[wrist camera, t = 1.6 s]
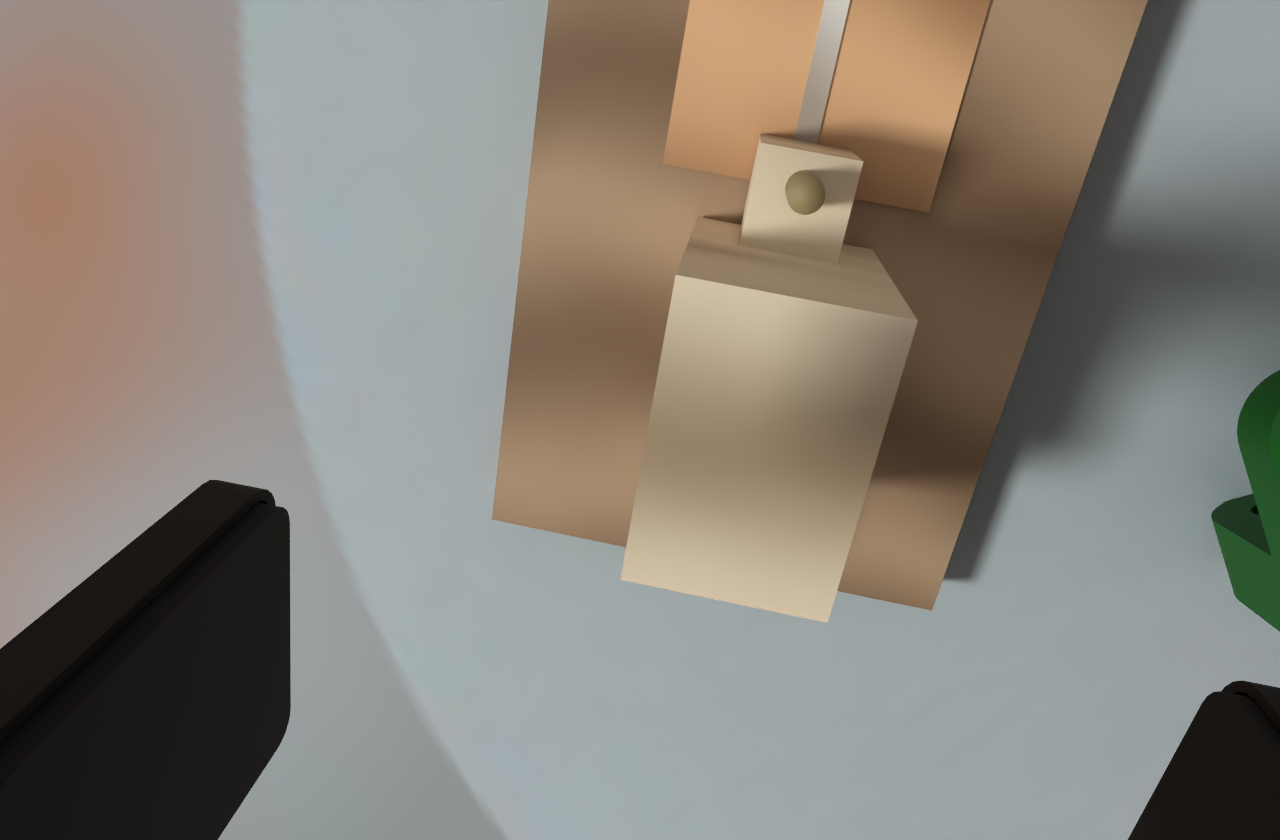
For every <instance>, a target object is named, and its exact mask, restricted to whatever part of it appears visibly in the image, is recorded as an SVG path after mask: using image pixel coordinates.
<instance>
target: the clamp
mask: <svg viewBox="0 0 1280 840" xmlns="http://www.w3.org/2000/svg"><path fill="white" fill-rule="evenodd" d="M1237 435H1238V442H1239V447H1240V450H1241V454H1242V457H1243V460H1244V464H1245V467H1246V471H1247V474H1248V477H1249V481H1250V484H1251V488H1252V491H1253V494H1251V495H1247V496H1244V497H1240V498H1236V499H1232V500H1230V501H1227V502H1225V503H1223V504H1222V505H1220V506H1218V507H1217V508H1216V509H1215V510H1214V511H1213V512H1212V515H1211V517H1212V521H1213V524H1214V527H1215V531H1216V534H1217V537H1218V541H1219V544H1220V547H1221V551H1222V554H1223V557H1224V561H1225V564H1226V568H1227V571H1228V574H1229V578H1230V581H1231V584H1232V588H1233V591H1234V594H1235V597H1236V598H1237V599H1238V600H1239V601H1240V602H1242V603H1243V604H1244V605H1246V606H1247V607H1248V608H1250V609H1251V610H1252V611H1253V612H1255V613H1256V614H1257V615H1259V616H1260V617H1261V618H1263V619H1264V620H1265V621H1267V622H1268V623H1269V624H1270V625H1272V626H1273V627H1274V628H1276V629H1277V630H1278V631H1280V370H1279V371H1277V372H1276V373H1274V374H1272V375H1271V376H1269V377H1268V378H1266V379H1265V380H1264V381H1262V382H1261V383H1260V384H1259V385H1258V386H1257V387H1256V388H1255V389H1254V390H1253V391H1252V393H1251V394H1250V395H1249V397H1248V398H1247V400H1246V402H1245V403H1244V405H1243V407H1242V410H1241V413H1240V416H1239V420H1238V427H1237Z"/></svg>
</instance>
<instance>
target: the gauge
mask: <svg viewBox="0 0 1280 840" xmlns="http://www.w3.org/2000/svg"><path fill="white" fill-rule="evenodd" d="M862 165H863V160H862V159H860V158H859V157H858V156H857V155H856V154H855V153H854V152H852V151H851V150H847V149H841V148H836V147H830V146H825V145H819V144H814V143H808V142H803V141H797V140H792V139H786V138H781V137H775V136H770V135H764V134H760V137H759V141H758V146H757V151H756V156H755V161H754V166H753V170H752V175H751V180H750V185H749V190H748V195H747V199H746V204H745V209H744V214H743V219H742V224H741V225H739V224H734V223H728V222H723V221H718V220H712V219H707V218H702V217H698V218H697V221H696V223H695V226H694V228H693V231H692V234H691V236H690V239H689V241H688V244H687V247H686V249H685V252H684V254H683V257H682V260H681V262H680V265H679V267H678V270H677V272H676V275H675V281H674V286H673V292H672V298H671V303H670V309H669V314H668V320H667V325H666V331H665V336H664V342H663V347H662V353H661V358H660V364H659V369H658V375H657V380H656V386H655V391H654V397H653V402H652V408H651V413H650V419H649V424H648V430H647V435H646V441H645V446H644V452H643V457H642V463H641V468H640V474H639V479H638V485H637V490H636V496H635V501H634V507H633V512H632V518H631V523H630V529H629V535H628V540H627V546H626V551H625V557H624V562H623V568H622V573H621V579H620V580H625V581H629V582H634V583H639V584H644V585H648V586H653V587H658V588H663V589H668V590H672V591H677V592H682V593H687V594H692V595H696V596H701V597H706V598H711V599H715V600H720V601H725V602H730V603H735V604H739V605H744V606H749V607H754V608H758V609H763V610H768V611H773V612H778V613H782V614H787V615H792V616H797V617H801V618H806V619H811V620H816V621H821V622H825V623H828V619H829V616H830V613H831V609H832V606H833V603H834V599H835V596H836V593H837V589H838V586H839V583H840V579H841V576H842V573H843V569H844V566H845V563H846V559H847V556H848V553H849V549H850V546H851V543H852V539H853V536H854V533H855V529H856V526H857V523H858V519H859V516H860V513H861V509H862V506H863V503H864V499H865V496H866V493H867V489H868V486H869V483H870V479H871V476H872V472H873V469H874V466H875V462H876V459H877V456H878V452H879V449H880V446H881V442H882V439H883V436H884V432H885V429H886V426H887V422H888V419H889V416H890V412H891V409H892V406H893V402H894V399H895V396H896V392H897V389H898V386H899V382H900V379H901V376H902V372H903V369H904V366H905V362H906V359H907V356H908V352H909V349H910V346H911V342H912V339H913V336H914V332H915V329H916V325H917V322H918V320H917V319H916V317H915V315H914V314H913V312H912V311H911V309H910V308H909V306H908V304H907V303H906V301H905V300H904V298H903V297H902V295H901V293H900V292H899V290H898V289H897V287H896V286H895V284H894V282H893V281H892V279H891V278H890V276H889V275H888V273H887V272H886V270H885V268H884V267H883V265H882V264H881V262H880V261H879V259H878V257H877V256H876V254H875V253H874V251H873V250H872V249H868V248H862V247H857V246H852V245H846V244H843V240H844V236H845V232H846V228H847V224H848V220H849V216H850V212H851V209H852V205H853V201H854V197H855V193H856V189H857V185H858V181H859V177H860V173H861V169H862Z"/></svg>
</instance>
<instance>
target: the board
mask: <svg viewBox="0 0 1280 840" xmlns="http://www.w3.org/2000/svg"><path fill="white" fill-rule="evenodd" d="M1147 1H1148V0H549V2H548V12H547V21H546V30H545V39H544V48H543V57H542V66H541V76H540V85H539V94H538V103H537V112H536V121H535V131H534V140H533V149H532V158H531V167H530V176H529V186H528V195H527V204H526V213H525V222H524V231H523V240H522V250H521V259H520V268H519V277H518V286H517V295H516V305H515V314H514V323H513V332H512V341H511V350H510V359H509V369H508V378H507V387H506V396H505V405H504V414H503V424H502V433H501V442H500V451H499V460H498V469H497V479H496V488H495V497H494V506H493V515H492V519H493V520H498V521H503V522H507V523H512V524H517V525H522V526H527V527H531V528H536V529H541V530H546V531H551V532H556V533H560V534H565V535H570V536H575V537H580V538H585V539H589V540H594V541H599V542H604V543H609V544H614V545H618V546H623V547H626V546H627V540H628V535H629V529H630V523H631V518H632V512H633V507H634V501H635V496H636V490H637V485H638V479H639V474H640V468H641V463H642V457H643V452H644V446H645V441H646V435H647V430H648V424H649V419H650V413H651V408H652V402H653V397H654V391H655V386H656V380H657V375H658V369H659V364H660V358H661V353H662V347H663V342H664V336H665V331H666V325H667V320H668V314H669V309H670V303H671V298H672V292H673V286H674V281H675V275H676V272H677V270H678V267H679V265H680V262H681V260H682V257H683V254H684V252H685V249H686V247H687V244H688V241H689V239H690V236H691V234H692V231H693V228H694V226H695V223H696V221H697V218H698V217H702V218H707V219H712V220H718V221H723V222H728V223H734V224H739V225H741V224H742V219H743V214H744V209H745V204H746V199H747V195H748V190H749V185H750V180H751V175H752V170H753V166H754V161H755V156H756V151H757V146H758V141H759V137H760V134H764V135H770V136H775V137H781V138H786V139H792V140H797V141H803V142H808V143H814V144H819V145H825V146H830V147H836V148H841V149H847V150H851V151H852V152H854V153H855V154H856V155H857V156H858V157H859V158H860V159H862V160H863V165H862V169H861V173H860V177H859V181H858V185H857V189H856V193H855V197H854V201H853V205H852V209H851V212H850V216H849V220H848V224H847V228H846V232H845V236H844V240H843V244H846V245H852V246H857V247H862V248H868V249H872V250H873V251H874V253H875V254H876V256H877V257H878V259H879V261H880V262H881V264H882V265H883V267H884V268H885V270H886V272H887V273H888V275H889V276H890V278H891V279H892V281H893V282H894V284H895V286H896V287H897V289H898V290H899V292H900V293H901V295H902V297H903V298H904V300H905V301H906V303H907V304H908V306H909V308H910V309H911V311H912V312H913V314H914V315H915V317H916V319H917V320H918V322H917V325H916V329H915V332H914V336H913V339H912V342H911V346H910V349H909V352H908V356H907V359H906V362H905V366H904V369H903V372H902V376H901V379H900V382H899V386H898V389H897V392H896V396H895V399H894V402H893V406H892V409H891V412H890V416H889V419H888V422H887V426H886V429H885V432H884V436H883V439H882V442H881V446H880V449H879V452H878V456H877V459H876V462H875V466H874V469H873V472H872V476H871V479H870V483H869V486H868V489H867V493H866V496H865V499H864V503H863V506H862V509H861V513H860V516H859V519H858V523H857V526H856V529H855V533H854V536H853V539H852V543H851V546H850V549H849V553H848V556H847V559H846V563H845V566H844V569H843V573H842V576H841V579H840V583H839V586H838V589H837V591H840V592H845V593H850V594H855V595H860V596H865V597H869V598H874V599H879V600H884V601H889V602H894V603H898V604H903V605H908V606H913V607H918V608H923V609H927V610H932V609H933V606H934V603H935V600H936V597H937V594H938V592H939V589H940V586H941V583H942V580H943V577H944V575H945V572H946V569H947V566H948V563H949V561H950V558H951V555H952V552H953V549H954V546H955V544H956V541H957V538H958V535H959V532H960V529H961V527H962V524H963V521H964V518H965V515H966V513H967V510H968V507H969V504H970V501H971V498H972V496H973V493H974V490H975V487H976V484H977V481H978V479H979V476H980V473H981V470H982V467H983V465H984V462H985V459H986V456H987V453H988V450H989V448H990V445H991V442H992V439H993V436H994V433H995V431H996V428H997V425H998V422H999V419H1000V417H1001V414H1002V411H1003V408H1004V405H1005V402H1006V400H1007V397H1008V394H1009V391H1010V388H1011V385H1012V383H1013V380H1014V377H1015V374H1016V371H1017V369H1018V366H1019V363H1020V360H1021V357H1022V354H1023V352H1024V349H1025V346H1026V343H1027V340H1028V337H1029V335H1030V332H1031V329H1032V326H1033V323H1034V321H1035V318H1036V315H1037V312H1038V309H1039V306H1040V304H1041V301H1042V298H1043V295H1044V292H1045V289H1046V287H1047V284H1048V281H1049V278H1050V275H1051V273H1052V270H1053V267H1054V264H1055V261H1056V258H1057V256H1058V253H1059V250H1060V247H1061V244H1062V241H1063V239H1064V236H1065V233H1066V230H1067V227H1068V225H1069V222H1070V219H1071V216H1072V213H1073V210H1074V208H1075V205H1076V202H1077V199H1078V196H1079V193H1080V191H1081V188H1082V185H1083V182H1084V179H1085V177H1086V174H1087V171H1088V168H1089V165H1090V162H1091V160H1092V157H1093V154H1094V151H1095V148H1096V145H1097V143H1098V140H1099V137H1100V134H1101V131H1102V129H1103V126H1104V123H1105V120H1106V117H1107V114H1108V112H1109V109H1110V106H1111V103H1112V100H1113V97H1114V95H1115V92H1116V89H1117V86H1118V83H1119V81H1120V78H1121V75H1122V72H1123V69H1124V66H1125V64H1126V61H1127V58H1128V55H1129V52H1130V49H1131V47H1132V44H1133V41H1134V38H1135V35H1136V33H1137V30H1138V27H1139V24H1140V21H1141V18H1142V16H1143V13H1144V10H1145V7H1146V4H1147Z"/></svg>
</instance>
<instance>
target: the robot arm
mask: <svg viewBox="0 0 1280 840" xmlns="http://www.w3.org/2000/svg"><path fill="white" fill-rule="evenodd" d="M289 717H290V522H289V515H288V512H287V510H286V509H284V508H283V507H277V506H275V500H274V497H273V496H272V493H270V492H269V491H268V490H265V489H260V488H255V487H250V486H245V485H239V484H234V483H229V482H224V481H219V480H209V481H208V482H206V483H204V484H202V485H201V486H200V487H199V488H198V489H196V490H195V491H194V492H193V493H191V494H190V495H189V496H188V497H186V498H185V499H184V500H183V501H181V502H180V503H179V504H178V505H177V506H175V507H174V508H173V509H172V510H170V511H169V512H168V513H167V514H165V515H164V516H163V517H162V518H161V519H159V520H158V521H157V522H156V523H155V524H153V525H152V526H151V527H150V528H148V529H147V530H146V531H145V532H143V533H142V534H141V535H140V536H139V537H137V538H136V539H135V540H134V541H132V542H131V543H130V544H129V545H127V546H126V547H125V548H124V549H123V550H121V551H120V552H119V553H118V554H116V555H115V556H114V557H113V558H111V559H110V560H109V561H108V562H107V563H105V564H104V565H103V566H102V567H100V568H99V569H98V570H97V571H95V572H94V573H93V574H92V575H91V576H89V577H88V578H87V579H86V580H84V581H83V582H82V583H81V584H80V585H78V586H77V587H76V588H75V589H73V590H72V591H71V592H70V593H68V594H67V595H66V596H65V597H64V598H62V599H61V600H60V601H59V602H57V603H56V604H55V605H54V606H53V607H51V608H50V609H49V610H48V611H46V612H45V613H44V614H43V615H41V616H40V617H39V618H38V619H37V620H35V621H34V622H33V623H32V624H30V625H29V626H28V627H27V628H25V629H24V630H23V631H22V632H21V633H19V634H18V635H17V636H16V637H14V638H13V639H12V640H11V641H10V642H8V643H7V644H6V645H5V646H3V647H2V648H1V649H0V840H218V838H219V837H220V835H221V833H222V832H223V830H224V829H225V828H226V826H227V824H228V823H229V821H230V820H231V818H232V817H233V815H234V814H235V812H236V811H237V809H238V808H239V806H240V805H241V803H242V802H243V800H244V798H245V797H246V796H247V794H248V792H249V791H250V789H251V788H252V786H253V785H254V783H255V782H256V780H257V779H258V777H259V776H260V774H261V773H262V771H263V770H264V768H265V767H266V765H267V763H268V762H269V761H270V759H271V758H272V756H273V755H274V753H275V752H276V750H277V748H278V746H279V745H280V743H281V741H282V739H283V737H284V734H285V732H286V729H287V725H288V722H289ZM1128 840H1280V688H1277V687H1272V686H1267V685H1262V684H1257V683H1252V682H1247V681H1235V682H1232V683H1230V684H1229V685H1227V686H1226V687H1224V689H1223V690H1222V691H1220V692H1213V693H1211V694H1210V695H1208V696H1207V697H1206V699H1205V700H1204V701H1203V703H1202V705H1201V706H1200V708H1199V710H1198V712H1197V714H1196V716H1195V717H1194V719H1193V721H1192V723H1191V725H1190V727H1189V728H1188V730H1187V732H1186V734H1185V736H1184V738H1183V739H1182V741H1181V743H1180V745H1179V747H1178V749H1177V750H1176V752H1175V754H1174V756H1173V758H1172V760H1171V761H1170V763H1169V765H1168V767H1167V769H1166V771H1165V772H1164V774H1163V776H1162V778H1161V780H1160V782H1159V783H1158V785H1157V787H1156V789H1155V791H1154V793H1153V794H1152V796H1151V798H1150V800H1149V802H1148V804H1147V805H1146V807H1145V809H1144V811H1143V813H1142V815H1141V816H1140V818H1139V820H1138V822H1137V824H1136V826H1135V827H1134V829H1133V831H1132V833H1131V835H1130V837H1129V839H1128Z"/></svg>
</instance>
